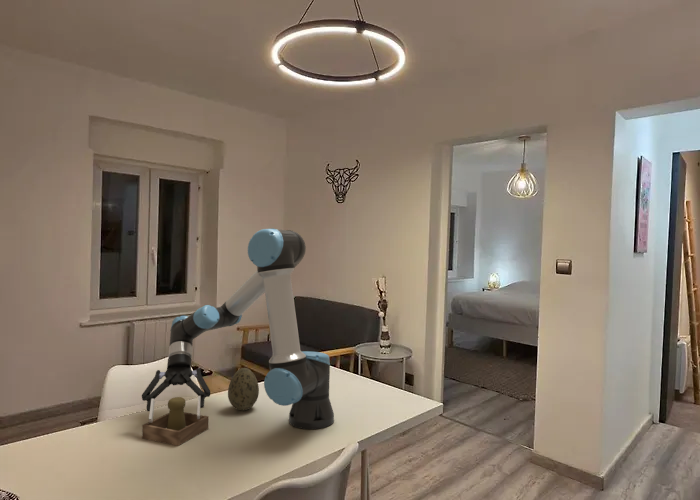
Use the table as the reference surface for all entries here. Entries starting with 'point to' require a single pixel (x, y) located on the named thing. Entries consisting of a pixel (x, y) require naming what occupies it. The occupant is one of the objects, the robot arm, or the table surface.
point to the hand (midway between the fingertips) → (174, 419)
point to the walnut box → (174, 437)
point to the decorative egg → (243, 389)
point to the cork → (176, 413)
